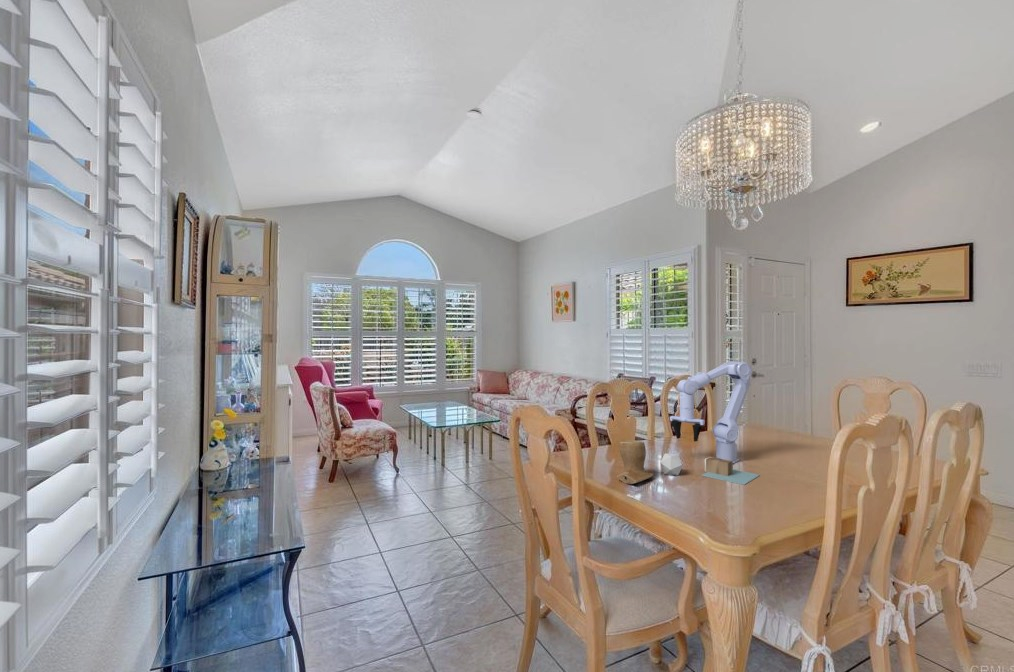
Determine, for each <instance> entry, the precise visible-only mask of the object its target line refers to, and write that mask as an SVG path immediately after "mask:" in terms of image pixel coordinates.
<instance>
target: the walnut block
mask: <svg viewBox="0 0 1014 672" xmlns="http://www.w3.org/2000/svg"><path fill="white" fill-rule="evenodd" d="M733 466H734V463H733V461H731V460H725V459H720V458H716V456H715V457H714V456H709V457H707V458H704V473H706V472H710V473H715V474H720V475H725V476H729V475H731V474H733V470H734V467H733Z"/></svg>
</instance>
